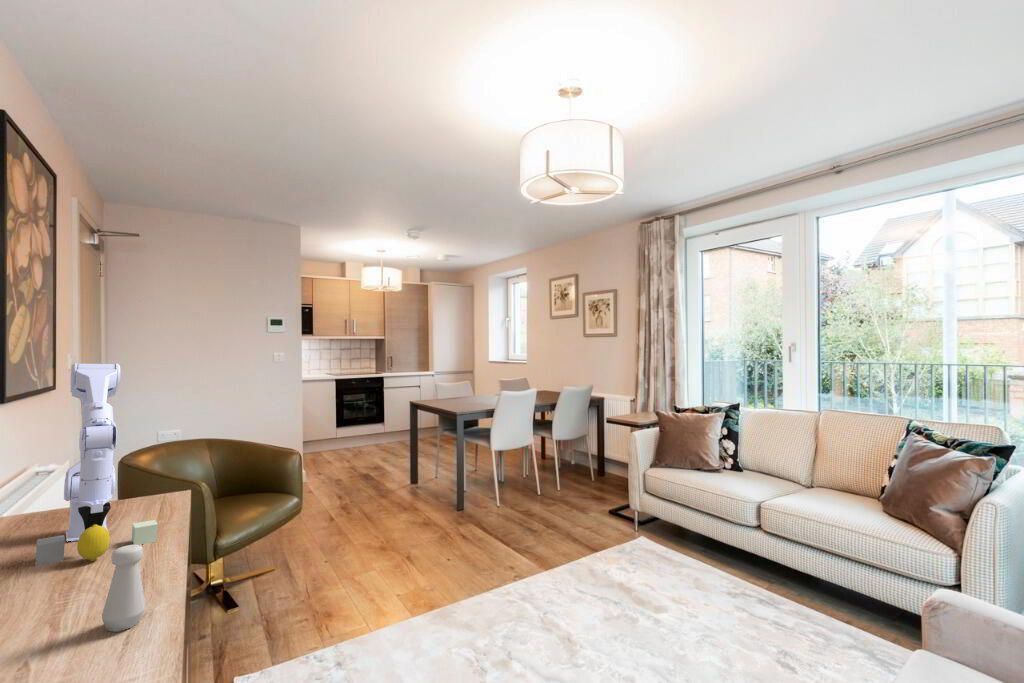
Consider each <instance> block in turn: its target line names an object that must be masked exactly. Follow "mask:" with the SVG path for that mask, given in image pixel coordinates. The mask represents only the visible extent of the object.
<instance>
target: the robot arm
mask: <svg viewBox="0 0 1024 683" xmlns="http://www.w3.org/2000/svg"><path fill="white" fill-rule="evenodd" d="M120 382H121V366H120V364H119V363H117V362H116V363H77V362H74V363H73V364H71V367H70V393H71V396H72V397H74V398H77V399H78V400H80V403H81V406H82V411H81V429H80V432H79V439H78V440H79V444H78V445H79V446H78V448H79V453H80V454H79V459H80V461H79V462H77V463H75V464H74V465H72V466H70V467H69V468H67V470H66V472H65V478H64V485H63V486H64V487H63V488H64V489H63V500H65V501H66V502H69V519H68V530H66V531H65V542H66V541H67V542H66V543H69V542H68V541H71V542H75V541H78V540H79V538H80V536H81V534H82V533H83V532H84V531H85V530H86V529H88V528H90V527H92V526H93V525H96V524H97V525H98V526H102V527H104V528H106V529H107V530H108V526H107V515H108V513H110V510H111V503H110V501H111V500H112V499H113V494H114V493H115V491H116V482H117V481H116V467H115V466H114V450H116V447H117V444H118V428H117V425H116V422H115V421H114V408H113V406H112V405H111V404H110V403H108V402H107V401H108V398H111V397H114V396H116V394H117V392H118V389H119V385H120ZM112 445H113V446H112ZM112 447H113V448H112ZM108 531H109V530H108Z"/></svg>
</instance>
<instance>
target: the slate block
mask: <svg viewBox="0 0 1024 683" xmlns="http://www.w3.org/2000/svg"><path fill="white" fill-rule="evenodd" d="M65 542H66V537H65V535H64V534H63V535H57V536H51V537H45V538H44V537H43V538H38V539H36V547H35V548H36V549H35V567H36V566H42V565H48V564H52V563H57V561H58V562H62V561H61V560H63V561H64V558H65V544H66V543H65Z"/></svg>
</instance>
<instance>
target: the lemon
mask: <svg viewBox="0 0 1024 683" xmlns="http://www.w3.org/2000/svg"><path fill="white" fill-rule="evenodd" d="M107 529H108V528H107ZM107 529H106V528H104V527H102V526H98V525H97V524H96V525H93V526H92V527H90V528H88V529H86V530H85V531H84V532H83V533H82V534H81V536H80V538H79V540H77V545H76V548H77V553H78V554H79V556H80V557H81V558H83V559H84V560H85V559H86V560H89V561H90V562H95V561H96V560H97V558H98V559H99V557H101V556H103V555H104V554H105V553H106V552H107V551H108V549H109V546H110V544H111V543H110V542H111V536H110V532H109V530H107Z"/></svg>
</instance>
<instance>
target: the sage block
mask: <svg viewBox="0 0 1024 683" xmlns="http://www.w3.org/2000/svg"><path fill="white" fill-rule="evenodd" d="M158 525H159V523H158V522H157V521H156V519H153V520H152V519H151V520H146V521H139V522H133V523H132V527H131V528H132V530H131V531H132V532H131V543H132V542H133V544H132V545H140V544H145V545H147V544H146V543H151V544H153V543H152V542H156V543H158V530H159V529H158V527H159V526H158ZM140 546H141V545H140Z"/></svg>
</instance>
